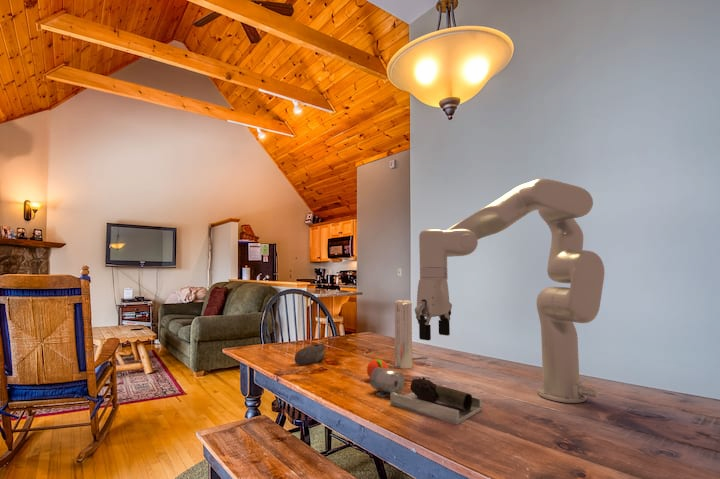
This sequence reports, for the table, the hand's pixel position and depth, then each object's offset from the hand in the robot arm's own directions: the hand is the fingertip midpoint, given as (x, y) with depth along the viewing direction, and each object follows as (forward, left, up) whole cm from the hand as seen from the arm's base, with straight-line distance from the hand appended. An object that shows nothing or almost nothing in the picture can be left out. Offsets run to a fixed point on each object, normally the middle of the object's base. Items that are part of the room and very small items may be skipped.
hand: (434, 337), depth 103 cm
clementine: (+27, -8, -19) cm, 34 cm away
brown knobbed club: (0, 0, -18) cm, 18 cm away
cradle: (0, +1, -18) cm, 18 cm away
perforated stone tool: (+62, -8, -19) cm, 65 cm away
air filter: (+32, -28, -19) cm, 47 cm away
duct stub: (+16, +1, -18) cm, 25 cm away
